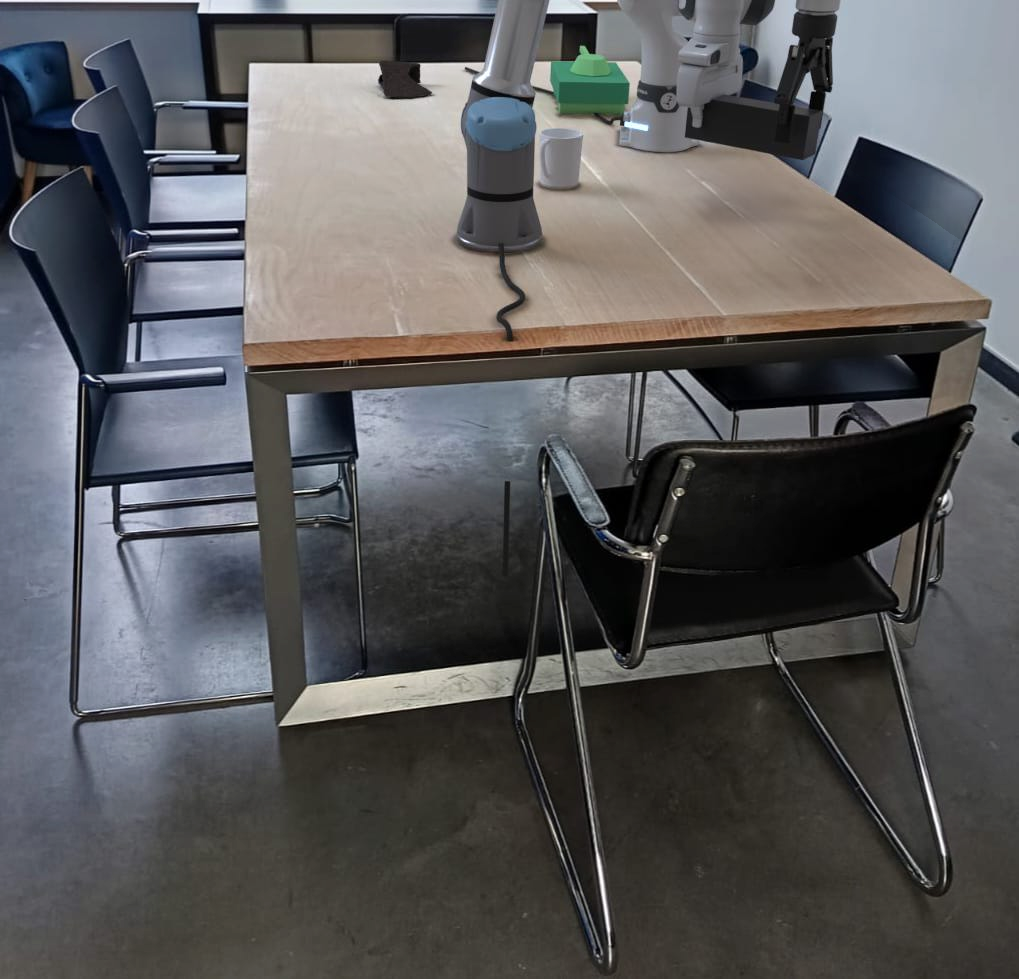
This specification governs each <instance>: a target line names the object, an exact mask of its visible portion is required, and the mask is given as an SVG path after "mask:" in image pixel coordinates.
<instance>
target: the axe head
mask: <svg viewBox="0 0 1019 979" xmlns="http://www.w3.org/2000/svg"><path fill="white" fill-rule="evenodd" d="M378 66H379V68H380V72H381V74H379V75H378V79H377V84H378V85H379V86H380V87H381V88H382V89H383V95H384V96H385V97H388V98H394V99H395V98H396V99H403V98H405V99H406V98H407V99H411V98H418V97H425V96H429V95H432V94H433V91H431V90H430V89H428V88H427V87H425V86H422V85H421V84H422V82H421V63H419V62H410V61H408V62H407V61H397V60H388V59H387V60H380V61H379V62H378Z"/></svg>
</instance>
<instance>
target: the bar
mask: <svg viewBox="0 0 1019 979" xmlns="http://www.w3.org/2000/svg"><path fill="white" fill-rule="evenodd" d="M779 105H780V104H775V103H774V102H772V101H765V100H760V99H754V98H748V97H743V96H742V97H741V96H736V95H722V96H719V97H716V98H713V99H711V101H710V102H709V103H706V104H704V109H703V110H702V114H703V117H705V119H704V125H703V126H702V127H699V128H697V127H693V125H692V123H693V116H692V112H691V108H689V107H688V110H687V120H686V129H685V138H690V139H695V140H699V141H700V142H706V143H712V144H716V145H721V146H722V145H723V146H727V147H732V148H737V149H742V150H747V151H753V152H757V153H763V154H768V155H773V156H779V157H784V158H787V159H788V158H789V159H794V160H800V161H804V160H806V159H808V158H810V157H812V156H814V155H816V152H817V146H818V141H819V134H820V129H819V128H820V122H821V116H822V111H820V110H814V109H808V108H809V107H808V108H807V107H802V106H796V105H795V112H794V119H793V126H792V133H791V139H790V143H784V142H778V141H775V134H776V127H777V120H778V113H779ZM822 117H823V116H822Z"/></svg>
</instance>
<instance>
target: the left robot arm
mask: <svg viewBox="0 0 1019 979" xmlns="http://www.w3.org/2000/svg"><path fill="white" fill-rule="evenodd" d="M550 1H551V0H498V1H497V6H496V10H495V14H494V17H493V18H494V19H493V24H492V27H491V32H490V37H489V42H488V47H487V50H486V56H485V59H484V65H483V69H482V70H481V71H478V72H479V73H478V74H475V75H473V76H472V79H471V85H470V88H469V93H468V97H467V101H466V103H465V104H464V107H463V109H462V112H461V117H460V131H461V134H462V138H463V140H464V144H465V148H466V192H467V193H466V198H465V202H464V205H463V209H462V211H461V214H460V218H459V220H458V224H457V228H456V241H457V243H458V244H459V245H461V246H462V247H464V248H466V249H468V250H470V251H475V252H479V253H486V254H497V255H498V258H499V260H498V262H499V269H500V273H501V276H502V279H503V280H504V282H505V284H506V285H507V287H508V288H509V289H511V291H513V292H515V293H516V294H517V295H518V296H519V298H518V299H517V300H516V301H514V302H512V303H510V304H507V305H505V306H504V307H502V308H500V309H499V310H498V311H497V313H496V316H495V317H496V321H497V322H498V323H499V324H500V325H502V326H503V327H504V329H505V333H506V340H507V341H508V343H509V342H510V343H511V342H514V334H513V329H512V326H511V324H510V322H509V321H508V320H507V319H506V318H504V317H503V316H504V315H505V314H506V313H509V312H510V311H513V310H514V309H516V308H519V307H520V306H522V305H523V304H524V303H525V300H526V293H525V292H524V291H523V289H522V288H520V287H519V286H518V285H516V284H515V283H514V282H513V281H512V280H511V278H510V276H509V274H508V271H507V268H506V257H505V255H506V254H507V255H508V254H517V253H524V252H527V251H530V250H533V249H536V248H538V247H539V246H540V245H541V244H542V243H543V229H542V224H541V221H540V220H541V219H540V218H539V214H538V213H539V212H538V210H537V206H536V204H535V199H534V184H535V181H534V180H535V148H536V147H535V146H536V134H537V128H538V127H537V121H536V113H535V110H534V109H533V107H534V103H535V98H536V95H537V93H536V90H534V89H533V87H532V86H533V85H532V83H531V81H532V80H531V79H532V75H533V71H534V67H535V63H536V60H537V56H538V55H537V54H538V50H539V46H540V42H541V37H542V35H543V34H542V33H543V29H544V26H545V21H546V17H547V13H548V8H549V4H550ZM840 5H841V0H795V9H796V10H797V11H795V13H794V14H793V18H792V20H793V21H792V26H791V28H792V29H791V33H792V35H793V36H795V37H798V43H797V45H796V44H790V45H789V48H788V53H787V58H786V61H785V64H784V68H783V70H782V73H781V78H780V79H779V83H778V86H777V90H776V92H775V96H774V100H773V103H775V104H780V105H779V113H778V120H777V127H776V134H775V141H778V142H784V143H790V139H791V133H792V126H793V119H794V112H795V106H796V105H794V103H795V101H796V98H797V96H798V94H799V91H800V89H801V86H802V84H803V83H804V80H805V77H806V75H807V74H809V73H810V78H811V83H812V87H813V90H812V91H810V94H809V101H808V109H814V110H820V111H822V116H821V122H820V128H819V130H821V128H822V124H823V116H824V110H825V104H826V103H825V102H826V97H827V93H832V91H833V84H834V75H833V74H834V72H833V71H834V70H833V44H834V43H833V42H834V36H835V34H836V29H837V23H838V15H837V13H836V12H838V11H839V10H840ZM503 490H504V492H503V495H504V496H503V533H502V534H503V536H502V538H503V540H502V541H503V542H502V576H503V577H504V578H507V577H508V576H509V555H510V553H509V552H510V550H509V549H510V548H509V547H510V516H511V515H510V512H511V511H510V509H511V480H504V489H503Z"/></svg>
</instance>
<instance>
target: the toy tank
mask: <svg viewBox="0 0 1019 979" xmlns="http://www.w3.org/2000/svg"><path fill="white" fill-rule="evenodd" d="M579 53H580V54H579V55H578V56H576V59H575V61H567V60H566V61H563V60H551V61H550V73H549V75H550V76H549V78H550V79H549V81H550V85H551V87H552V89H553V90H552V91H553V92H554V95H553V97H554V98H556V102H557V105H558V115H584V116H585V115H587V116H588V115H590V116H591V115H593V114H594V113H598V114H600V115H601V116H606V115H607V116H621V115H622V114H623V113H624V112H625V107H626V106H625V105H629V100H630V99H629V98H630V97H629V96H630V87H631V86H630V85H631V82H630V81H629V80H628V78H627V77H626V75H625V74H624V73H623V71H622V69H621V68H620V66H619V65H618V63H617V62H615V61H614V62H613V61H611V62H610V61H608V60H607V58H606V56H603V55H601V54H594V53H589V50H588V49H587V47H586V45H580V46H579ZM593 116H594V115H593Z"/></svg>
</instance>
